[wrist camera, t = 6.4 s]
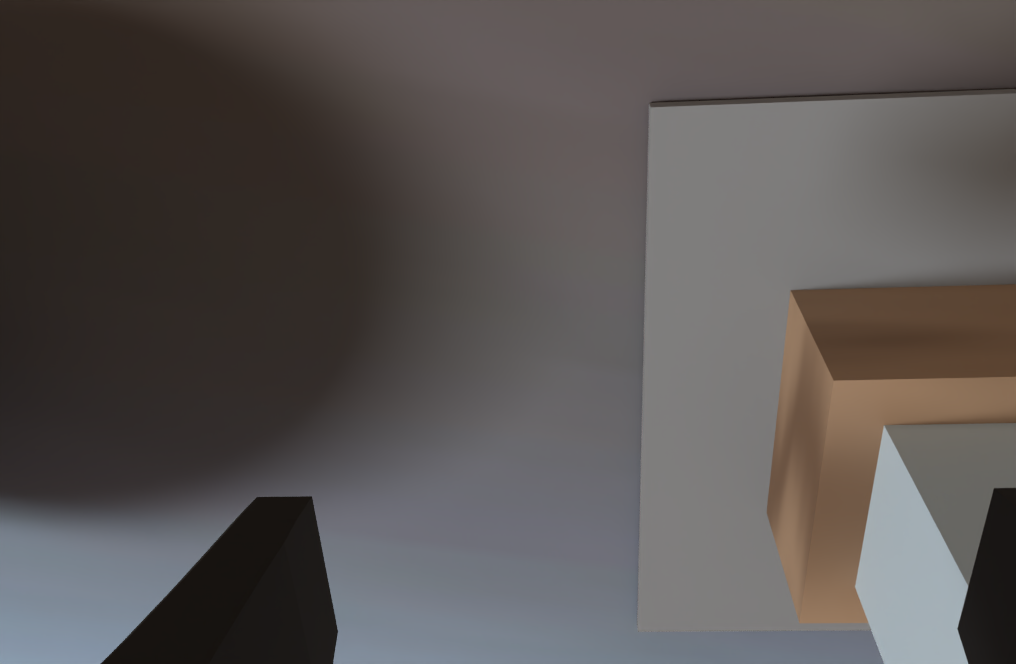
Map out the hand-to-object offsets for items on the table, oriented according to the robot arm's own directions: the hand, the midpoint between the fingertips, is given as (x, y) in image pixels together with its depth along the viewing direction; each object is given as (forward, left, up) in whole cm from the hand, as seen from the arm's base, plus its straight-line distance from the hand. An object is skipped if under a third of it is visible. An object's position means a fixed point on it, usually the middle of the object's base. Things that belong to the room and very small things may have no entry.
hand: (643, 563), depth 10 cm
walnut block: (-5, -7, -10) cm, 13 cm away
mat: (-5, -7, -10) cm, 13 cm away
